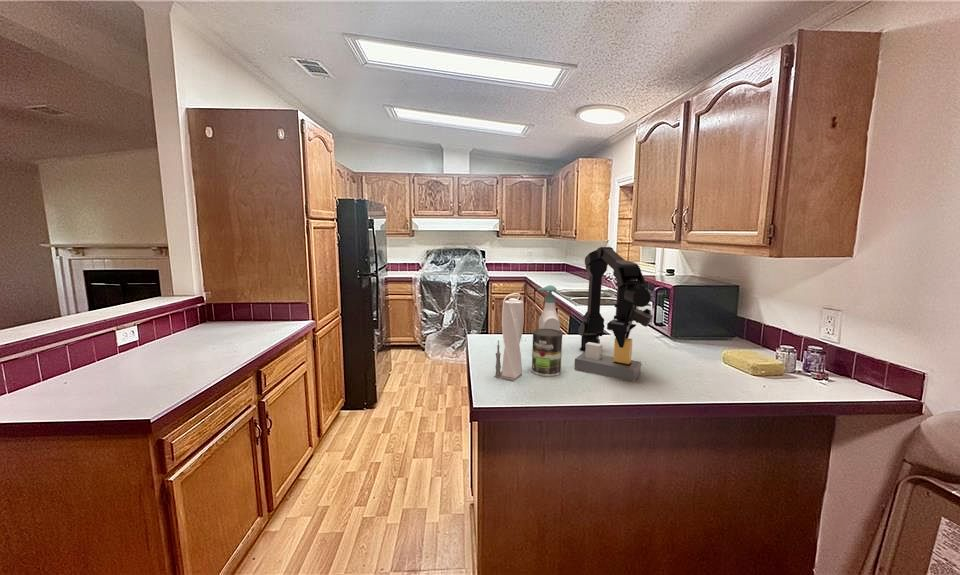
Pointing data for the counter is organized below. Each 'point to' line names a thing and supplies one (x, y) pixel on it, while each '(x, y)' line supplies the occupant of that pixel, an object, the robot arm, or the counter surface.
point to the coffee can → (547, 352)
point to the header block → (608, 367)
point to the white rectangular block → (593, 351)
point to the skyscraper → (511, 339)
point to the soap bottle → (549, 311)
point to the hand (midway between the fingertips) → (622, 346)
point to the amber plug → (623, 351)
